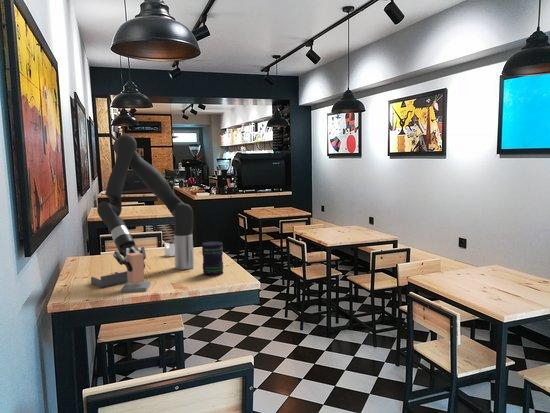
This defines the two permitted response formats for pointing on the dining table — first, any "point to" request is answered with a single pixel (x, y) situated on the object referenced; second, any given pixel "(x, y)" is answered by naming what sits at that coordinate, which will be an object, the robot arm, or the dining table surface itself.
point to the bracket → (169, 249)
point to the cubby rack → (110, 280)
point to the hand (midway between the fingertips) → (137, 269)
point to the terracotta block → (136, 268)
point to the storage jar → (212, 258)
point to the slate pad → (136, 287)
